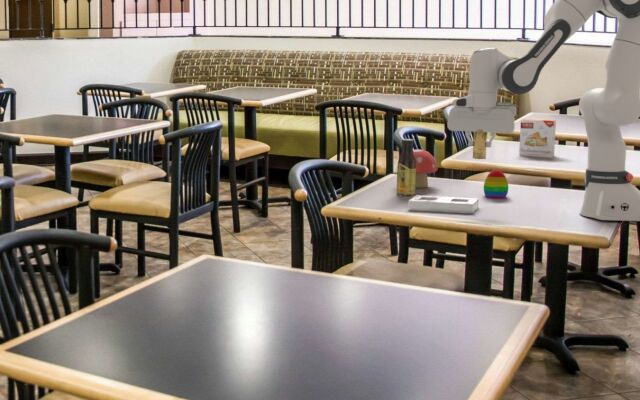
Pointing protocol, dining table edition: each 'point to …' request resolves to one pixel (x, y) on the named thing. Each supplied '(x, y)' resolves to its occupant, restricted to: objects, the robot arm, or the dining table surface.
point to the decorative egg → (496, 185)
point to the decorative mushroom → (423, 167)
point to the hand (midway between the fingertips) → (479, 146)
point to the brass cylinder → (479, 144)
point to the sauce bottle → (406, 169)
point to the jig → (443, 204)
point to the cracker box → (537, 138)
